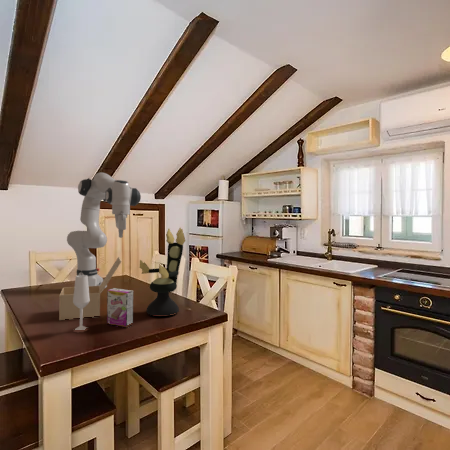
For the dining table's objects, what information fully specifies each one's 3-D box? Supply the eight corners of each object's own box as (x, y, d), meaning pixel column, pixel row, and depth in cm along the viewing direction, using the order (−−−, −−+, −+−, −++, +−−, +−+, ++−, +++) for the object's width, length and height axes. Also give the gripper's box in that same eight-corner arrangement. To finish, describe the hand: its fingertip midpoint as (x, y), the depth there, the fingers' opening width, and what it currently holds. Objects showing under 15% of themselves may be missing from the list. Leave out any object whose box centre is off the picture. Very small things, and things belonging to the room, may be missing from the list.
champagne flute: (86, 333, 137) (86, 277, 136) (70, 333, 137) (70, 277, 136) (91, 327, 144) (92, 274, 143) (76, 327, 144) (76, 274, 143)
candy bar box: (106, 325, 147) (106, 290, 147) (113, 321, 152) (113, 287, 152) (126, 328, 144) (127, 292, 143) (133, 325, 149) (133, 290, 148)
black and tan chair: (137, 312, 167) (138, 226, 165) (170, 304, 184) (172, 226, 182) (159, 321, 155) (161, 228, 153) (192, 311, 171) (195, 227, 170)
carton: (59, 320, 152) (59, 295, 151) (62, 310, 167) (62, 287, 166) (99, 316, 159) (100, 292, 158) (99, 307, 173) (100, 285, 173)
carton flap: (120, 261, 161) (121, 261, 161) (118, 256, 176) (119, 257, 176) (100, 292, 158) (101, 293, 158) (100, 285, 173) (101, 286, 173)
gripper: (129, 211, 159) (128, 239, 160) (125, 211, 178) (125, 235, 179) (115, 211, 157) (115, 239, 158) (113, 210, 176) (113, 235, 177)
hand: (120, 237), depth 168 cm, fingers closed
